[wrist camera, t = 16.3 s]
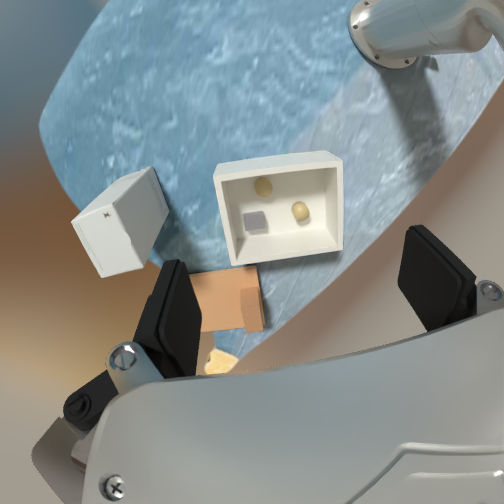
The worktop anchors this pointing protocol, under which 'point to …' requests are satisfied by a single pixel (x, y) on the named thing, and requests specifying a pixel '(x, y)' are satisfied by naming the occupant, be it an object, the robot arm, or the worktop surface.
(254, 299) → the lid
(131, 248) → the skincare box
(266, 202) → the tub
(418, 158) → the worktop surface
